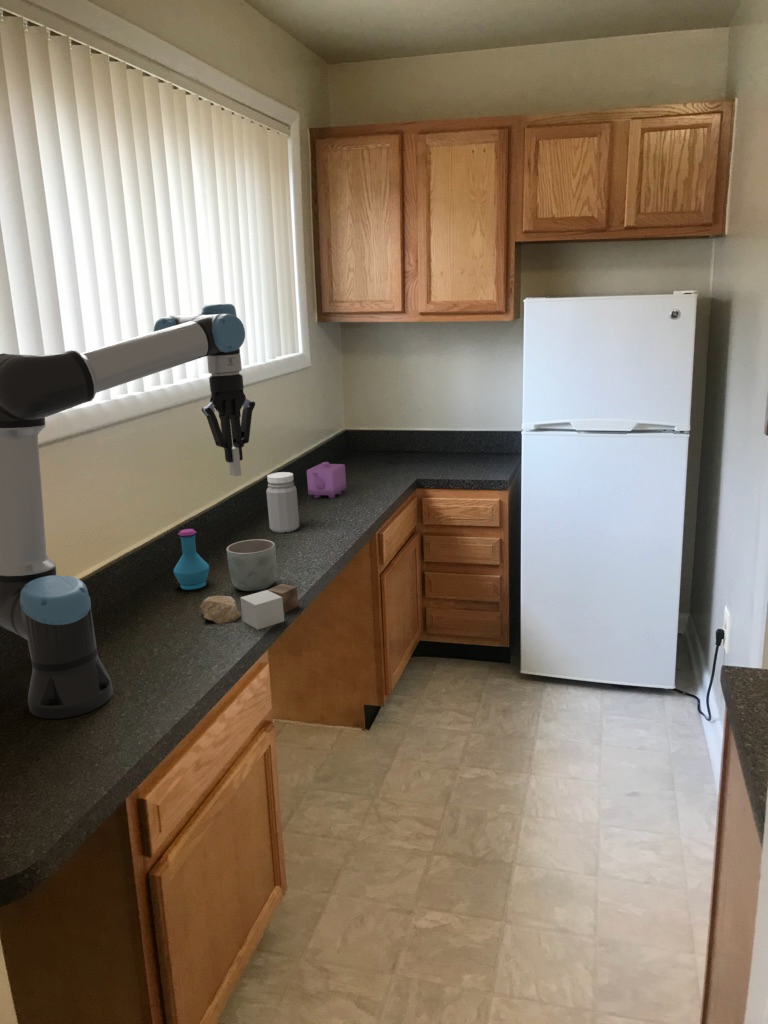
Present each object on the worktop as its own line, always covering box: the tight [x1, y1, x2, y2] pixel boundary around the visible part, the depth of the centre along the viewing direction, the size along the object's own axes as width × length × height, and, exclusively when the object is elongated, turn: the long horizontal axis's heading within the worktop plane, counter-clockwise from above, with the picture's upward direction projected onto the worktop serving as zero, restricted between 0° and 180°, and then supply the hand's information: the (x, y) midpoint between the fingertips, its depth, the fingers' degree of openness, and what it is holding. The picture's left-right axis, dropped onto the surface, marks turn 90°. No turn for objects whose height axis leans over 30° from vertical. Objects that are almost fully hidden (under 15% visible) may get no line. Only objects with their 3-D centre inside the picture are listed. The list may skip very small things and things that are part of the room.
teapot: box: [306, 461, 347, 499], centre depth 310 cm, size 20×10×12 cm, turn 159°
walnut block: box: [267, 583, 299, 614], centre depth 201 cm, size 5×5×5 cm
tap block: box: [239, 589, 285, 630], centre depth 194 cm, size 7×7×6 cm
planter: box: [226, 538, 277, 592], centre depth 217 cm, size 12×12×11 cm
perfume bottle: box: [173, 528, 210, 591], centre depth 220 cm, size 9×9×15 cm
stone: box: [199, 595, 241, 625], centre depth 199 cm, size 8×10×4 cm
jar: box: [265, 471, 300, 534], centre depth 268 cm, size 10×10×18 cm
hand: (235, 475), depth 197 cm, fingers closed
